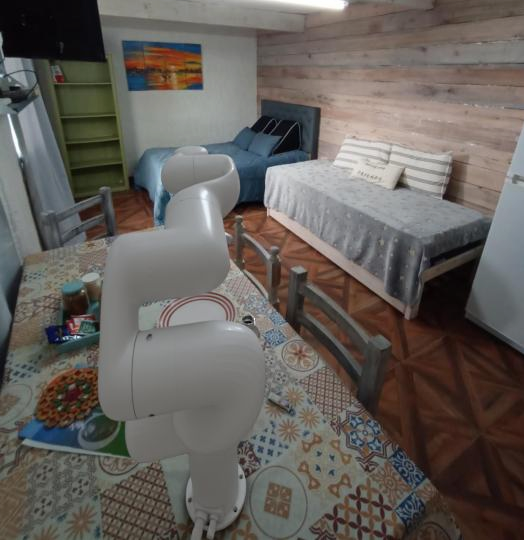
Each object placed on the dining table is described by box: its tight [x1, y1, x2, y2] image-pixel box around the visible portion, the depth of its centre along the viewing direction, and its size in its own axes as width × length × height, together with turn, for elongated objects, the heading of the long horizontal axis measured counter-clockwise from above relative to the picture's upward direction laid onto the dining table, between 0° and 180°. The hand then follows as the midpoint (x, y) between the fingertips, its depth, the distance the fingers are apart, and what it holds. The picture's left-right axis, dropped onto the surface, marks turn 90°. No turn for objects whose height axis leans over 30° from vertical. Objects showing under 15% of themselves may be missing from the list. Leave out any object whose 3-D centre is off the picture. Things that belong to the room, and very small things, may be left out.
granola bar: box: [267, 390, 293, 412], centre depth 84 cm, size 7×2×1 cm, turn 58°
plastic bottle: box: [240, 314, 261, 340], centre depth 89 cm, size 6×7×20 cm
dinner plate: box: [156, 290, 238, 328], centre depth 110 cm, size 27×27×3 cm
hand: (200, 264), depth 78 cm, fingers open, 9 cm apart
